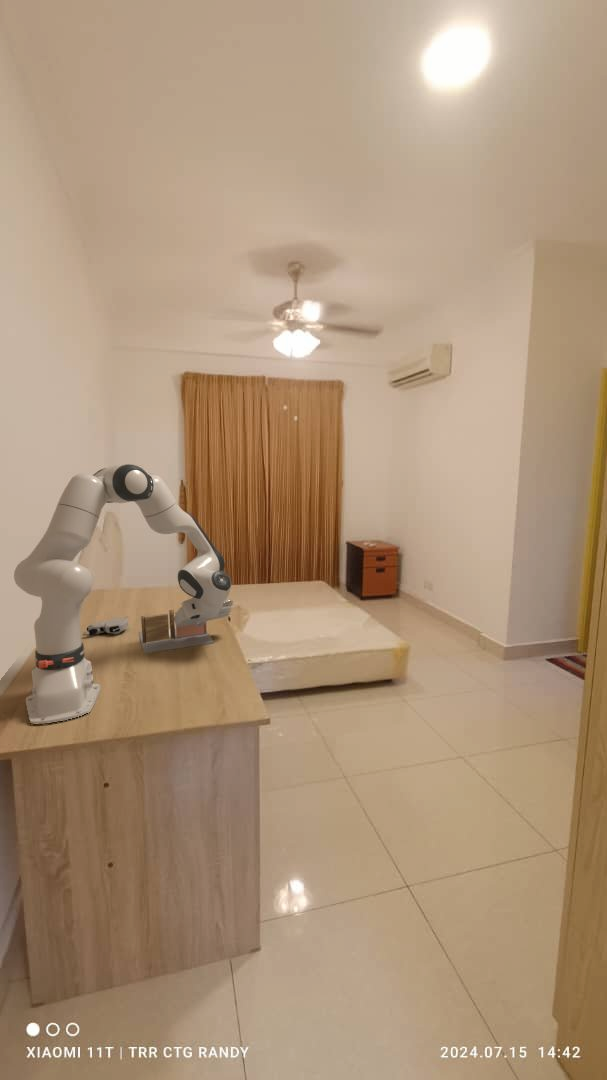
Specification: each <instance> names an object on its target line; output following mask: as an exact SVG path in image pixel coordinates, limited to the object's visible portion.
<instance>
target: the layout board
mask: <svg viewBox="0 0 607 1080" xmlns="http://www.w3.org/2000/svg"><path fill="white" fill-rule="evenodd" d="M138 634H139V637H140V643H141V646H142V650H143V654H144V655H145V654H152V653H157V652H163V651H165V652H166V651H170V650H177V649H183V648H189V647H196V646H197V647H198V646H203V645H204V646H205V645H209V644H215V642H214V640H213V638H212V637H211V635H210V633H209V631H207V634H199V635H192V636H185V637H178V638H177V634H176V629H175V639H171V634H170V627H169V639H167V640H161V641H154V642H147V643H143V638H142V631H140V632H138Z"/></svg>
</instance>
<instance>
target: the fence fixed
mask: <svg viewBox="0 0 607 1080" xmlns="http://www.w3.org/2000/svg"><path fill="white" fill-rule="evenodd" d="M168 613H169V614H168ZM168 613H161V614H154V615H146V616H145V615H142V616H140V620H141V621H140V623H141V632H142V638H143V643H147V642H154V641H161V640H167V639H169V628H170V634H171V639H175V627H176V624H175V620H174V617H175V612H174V609H170V610H168Z"/></svg>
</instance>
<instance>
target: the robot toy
mask: <svg viewBox="0 0 607 1080" xmlns="http://www.w3.org/2000/svg"><path fill="white" fill-rule="evenodd" d="M128 618H129V616H124V617H123V616H120V617H115V618H111V619H109V620H107V621H106V622H105V621H96V622H93V623H91V624H89V625H88V626H87V627H86V631H85V632H84V635H85V636H88V635H89V636H92V635H99V634H104V633H105V632H106V633H107V634H113V635H119V634H120V633H121V632H124V631H125V630H126V629H127V628H128V627H129V621H128Z"/></svg>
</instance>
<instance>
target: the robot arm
mask: <svg viewBox="0 0 607 1080" xmlns="http://www.w3.org/2000/svg"><path fill="white" fill-rule="evenodd" d="M130 502H134V503H135V504H136V505H137V506H138V508H139V509H140V511H141V513H142V515H143V517H144V519H145V521H146V523H147V524H148V526H149V528H150V529H151V530H152V531H153V532H155V533H158V534H160V535H171V534H176V533H183V534H185V535H186V537H187V538H188V539H189V541H190V542H191V543H192V545H193V546H194V547H195V549H196V551H197V555H196V556H195V557H194V558H193V559H192V560H190V561H189V562H188V563H186V565H185V566H183V567H182V568H181V569H180V570H178V572H177V582H178V585H179V588H180V589H181V590H182V591H183V592H184V593H185V594H187V595H188V596H190V597H192V598H189V599H186V600H184V601H182V602H181V607H179V608H178V610H177V611H176V612H177V613H176V615H175V614H174V624H175V627H176V626H177V627H182V626H187V625H191V624H194V625H195V627H197V626H202V625H203V624H204V623H205V622H206V623H208V621H213V620H218V619H222V618H226V617H228V616H229V615H230V613H231V610H232V607H233V605H234V601H233V600H231V599H227V598H228V597H229V594H230V591H231V590H232V581H231V577H230V576H229V574H227V573H226V571H224V570H225V568H226V567H225V565H226V564H225V563H226V562H225V558H224V556H223V554H222V553H221V552H220V551H219V550H218V549H217V547H215V545H214V544H213V543H212V541H211V540H210V538H209V537H208V535H207V534H206V533H205V530H204V529H203V528H202V527H201V525H200V524H199V522H198V521H197V520H196V518H195V517H194V515H192V514H191V513H190V512H188V511H185V510H183V509H182V508H181V506H179V504H178V502H177V500H176V498H175V496H174V494H173V493H172V491H171V489H170V488H169V487H168V485H167V484H166V482H165V481H164V480H163V478H161V476H159V475H156V474H148V473H147V472H146V471H145V470H144V468H142V467H140V466H139V465H135V464H130V463H128V464H118V465H117V464H116V465H111V466H108V467H104V468H101V469H99V470H98V471H96V472H95V473H94V474H91V473H90V474H89V473H78V474H75V475H73V476H72V478H71V479H70V480H69V482H68V483H67V484H66V487H65V488H64V489H63V492H62V494H61V496H60V497H59V501H58V502H57V505H56V507H55V510H54V513H53V514H52V517H51V520H50V522H49V524H48V527H47V529H46V531H45V533H44V535H43V536H42V537H41V539H40V540H39V542H38V543H37V545H36V546H35V548H33V550H32V552H30V554H29V555H28V556H27V557H26V558H24V559H23V560H21V561H20V562H19V563H18V564H17V566H16V567H15V569H14V572H13V579H14V582H15V584H16V586H17V587H18V588H20V589H21V590H22V591H23V592H25V593H27V594H28V595H31V596H34V597H39V598H40V600H41V608H40V614H39V616H38V618H37V619H36V620H35V621H34V625H33V628H34V629H33V630H34V636H35V637H34V639H35V648H36V649H35V652H34V661H35V667H34V668H33V669H32V670H31V677H32V678H31V679H32V687H33V688H31V689H30V694H31V695H28V696H27V697H26V698H25V707H26V706H27V707H26V712H27V711H28V712H27V716H28V715H29V717H28V721H29V720H30V722H32V723H47V722H54V721H63V720H67V721H69V720H68V719H71V720H73V719H72V718H75V717H78V718H80V717H79V716H81V717H83V716H82V715H84V714H86V713H88V714H90V713H91V712H90V711H92V710H91V709H93V707H94V705H95V703H96V700H97V699H98V696H99V694H100V692H101V689H102V688H101V687H102V686H101V684H99V683H94V678H93V677H94V676H93V669H92V662H91V661H90V660H88V659H86V657H85V647H84V643H83V642H82V631H81V629H82V628H81V612H82V607H83V603H84V600H86V598H87V597H88V596H89V595H90V593H91V592H92V589H93V588H94V587H93V586H94V578H93V574H92V572H91V571H90V570H89V569H88V568H87V567H85V566H83V565H81V564H80V563H78V562H76V561H74V560H75V559H76V557H77V555H78V554H80V553H81V551H82V550H84V549H86V548H87V547H88V546H89V544H90V543H91V542H92V541H91V540H92V538H93V535H94V532H95V531H96V530H95V529H96V527H97V525H98V522H99V519H100V516H101V513H102V510H103V509H104V507H105V505H106V504H107V503H108V504H110V503H111V504H113V503H114V504H115V503H116V504H117V503H118V504H124V503H130ZM89 712H90V713H89ZM86 715H87V714H86ZM84 716H85V715H84ZM75 719H76V718H75ZM41 720H42V721H41ZM30 722H29V723H30ZM63 722H64V721H63Z"/></svg>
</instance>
